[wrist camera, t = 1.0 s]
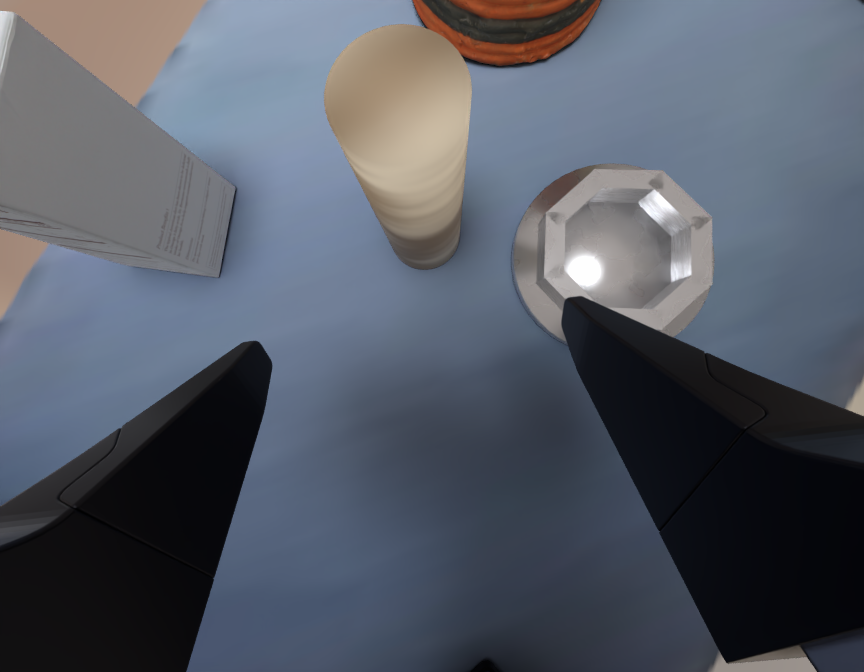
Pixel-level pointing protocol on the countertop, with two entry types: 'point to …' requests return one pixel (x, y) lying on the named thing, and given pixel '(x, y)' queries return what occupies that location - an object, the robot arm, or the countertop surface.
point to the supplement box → (99, 167)
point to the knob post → (405, 134)
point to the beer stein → (507, 26)
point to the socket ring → (614, 248)
